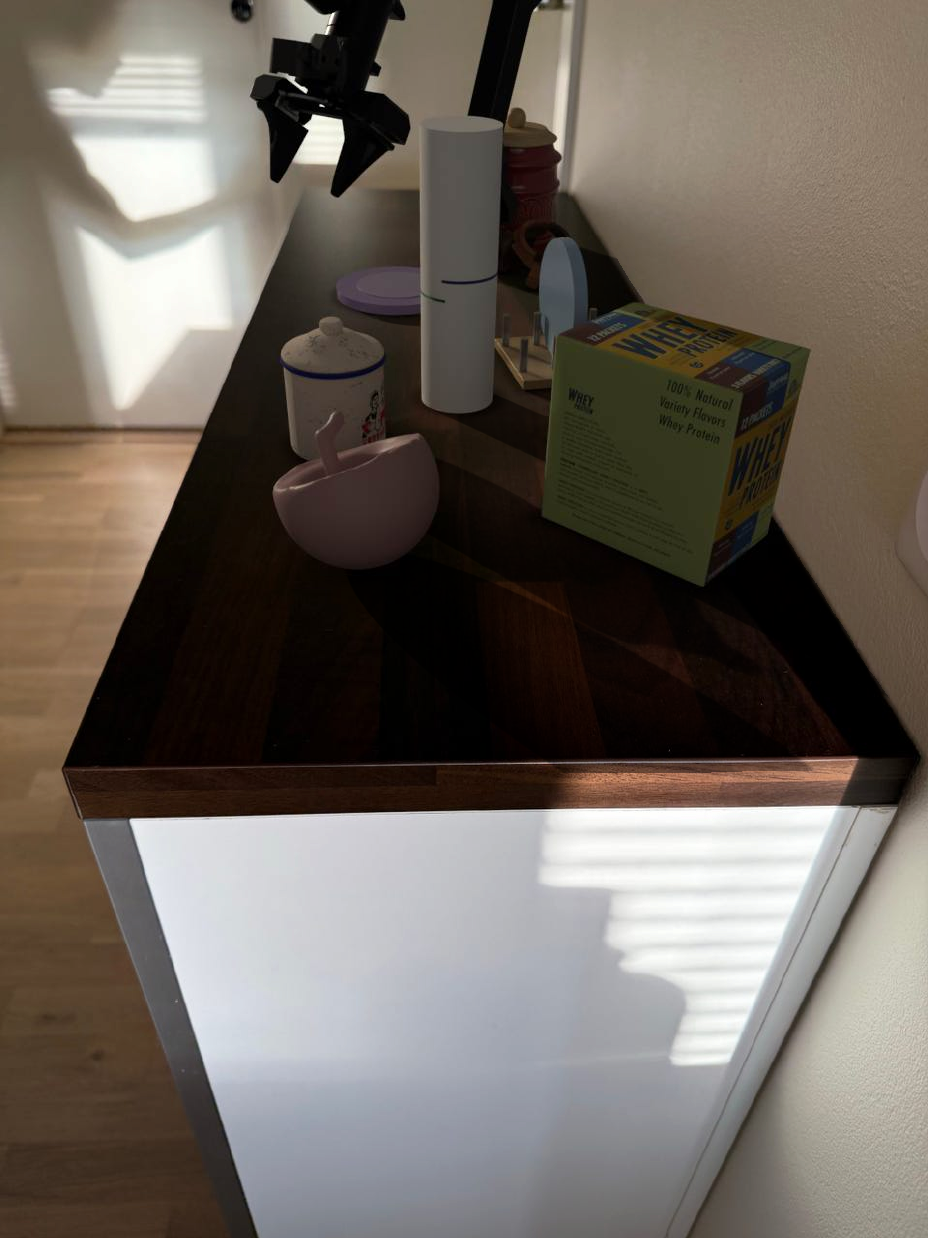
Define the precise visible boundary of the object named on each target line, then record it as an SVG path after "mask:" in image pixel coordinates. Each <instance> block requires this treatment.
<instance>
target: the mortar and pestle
mask: <svg viewBox="0 0 928 1238" xmlns="http://www.w3.org/2000/svg"><path fill="white" fill-rule="evenodd" d="M343 424H344V415H343V413H342V412H340V411H335V412H333V413H332V414H331V416H330V419H329V421H328V422H327V424H326V425H325V426H324V427H322V428H321V429H319V430H318V431H317V432H316V433H315V441H316V444H317V447H318V450H319V453H320V456H321V458H319V459H316V460H312V461H306V462H304V463H301V464H298V465H296V466H294V467H293V468H292V469H290V470H289V471H288V472H287V473H285V474H284V475H283V476H281V477H280V478H279V479H278V480H277V481H276V483H275V484H274V485H273V490H272V497H273V502H274V506H275V508H276V511H277V514H278V516H279V519H280V522H281V523H282V525H283V527H284V529H285V530H286V532H287V534H288V535H289V537H290V538H291V539H292V540H293V541H294V542H295V543H296V544H297V546H298V547H300V549H302V550H303V551H304V552H306V553H307V554H308V555H309V556H311V557H313V558H314V559H316V560H318V561H319V562H322V563H324V564H327V565H329V566H332V567H336V568H339V569H345V570H359V571H362V570H371V569H375V568H380V567H383V566H385V565H389V564H391V563H393V562H394V561H397V560H399V559H401V558H402V557H403V556H405V555H407V554H408V553H409V552H410V551H411V550H413V549H414V548H415V547H416V546H417V545H418V544H419V543H420V541H421V540H422V539H423V538H424V537H425V535H426V534H427V532H428V530H429V529H430V528H431V525H432V523H433V520H434V519H435V518H434V517H435V516H436V513H437V509H438V505H439V499H440V487H441V486H440V475H439V471H438V466H437V463H436V459H435V456H434V454H433V451H432V449H431V448H430V446H429V444H428V442H427V440H426V439H425V437H424V435H422V434H420V433H419V432H417V433H411V434H404V435H399V436H394V437H388V438H386V439H384V440H380V441H376V442H373V443H370V444H366V445H363V446H360V447H356V448H354V449H349V450H347V451H343V452H341V453H336V450H335V447H334V439H335V437H336V435H337V433H338V431H339V430H340V428H341V427H342V426H343Z"/></svg>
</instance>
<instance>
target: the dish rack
mask: <svg viewBox="0 0 928 1238" xmlns="http://www.w3.org/2000/svg"><path fill="white" fill-rule="evenodd" d="M511 316H512V315H511V313H507V312H506V313H503V314H502V334H501V335H502V336H501V337H497V338H496V337H495V350H496V351H497V353H498V354H499V356H500V357H501V359H502V360H503V362H504V363H505V365H506V366H507V367H508V370H509V371H510V372H511V375H513V377H514V378H515V380H516V381H517V383H518V385H520V387H521V389H522V390H523V391H527V390H542V389H552V379H553V366H554V355H555V343H556V336H557V335H554V339H553V352H552V355H551V353H550V352H549V350H548V347H547V345H546V342H545V338H544V335H543V334H541V333H542V325H541V320H542V312H540V310H539V311H535V312H534V315H533V318H534V319H533V331H532V335H525V336H511V319H512V318H511ZM595 318H598V308H596V307H591V308H589V314H588V321H591V320H593V319H595ZM510 336H511V337H510Z"/></svg>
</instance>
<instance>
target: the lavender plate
mask: <svg viewBox="0 0 928 1238" xmlns="http://www.w3.org/2000/svg"><path fill="white" fill-rule="evenodd" d="M335 290H336V291H335V292H336V298H337V300H338V301H339V302H340V303H341V304H342V305H344V306H345V307H346V308H347V307H348V308H349V309H352V310H354V311H358V312H363V313H367V314H372V315H373V314H374V315H381V316H411V315H421V272H420V267H414V266H403V265H402V266H400V265H399V266H398V265H397V266H378V267H370V268H365V269H360V270H357V271H353V272H351V273H348V274H346V275H344V276H343V277H341V278H340V279H338V281H337V282H336V285H335Z"/></svg>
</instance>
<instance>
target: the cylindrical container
mask: <svg viewBox="0 0 928 1238" xmlns="http://www.w3.org/2000/svg"><path fill="white" fill-rule="evenodd" d="M418 126H419V127H418V128H419V129H418V132H419V133H418V135H419V136H418V137H419V140H418V141H419V147H418V148H419V259H420V260H419V262H420V264H419V265H420V266H419V268H420V272H421V314H420V358H421V359H420V361H421V363H420V364H421V365H420V369H421V372H420V374H421V375H420V378H421V379H420V380H421V381H420V382H421V383H420V385H421V401H422V404H424V405H425V406H426V407H428V408H430V409H432V410H435V411H437V412H442V413H446V414H470V413H475V412H478V411H482V410H484V409H486V408H488V407H489V406H490V405H491V404H492V402H493V398H494V378H495V377H494V375H495V374H494V373H495V350H496V348H495V338H496V324H497V323H496V322H497V321H496V320H497V295H498V294H497V293H498V271H499V270H498V245H499V219H500V192H501V166H502V140H503V124H502V123H501V122H500V121H497V120H494V119H490V118H484V117H476V116H467V115H439V116H432V117H428V118H424V119H421V120H420V121H419V122H418Z"/></svg>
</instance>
